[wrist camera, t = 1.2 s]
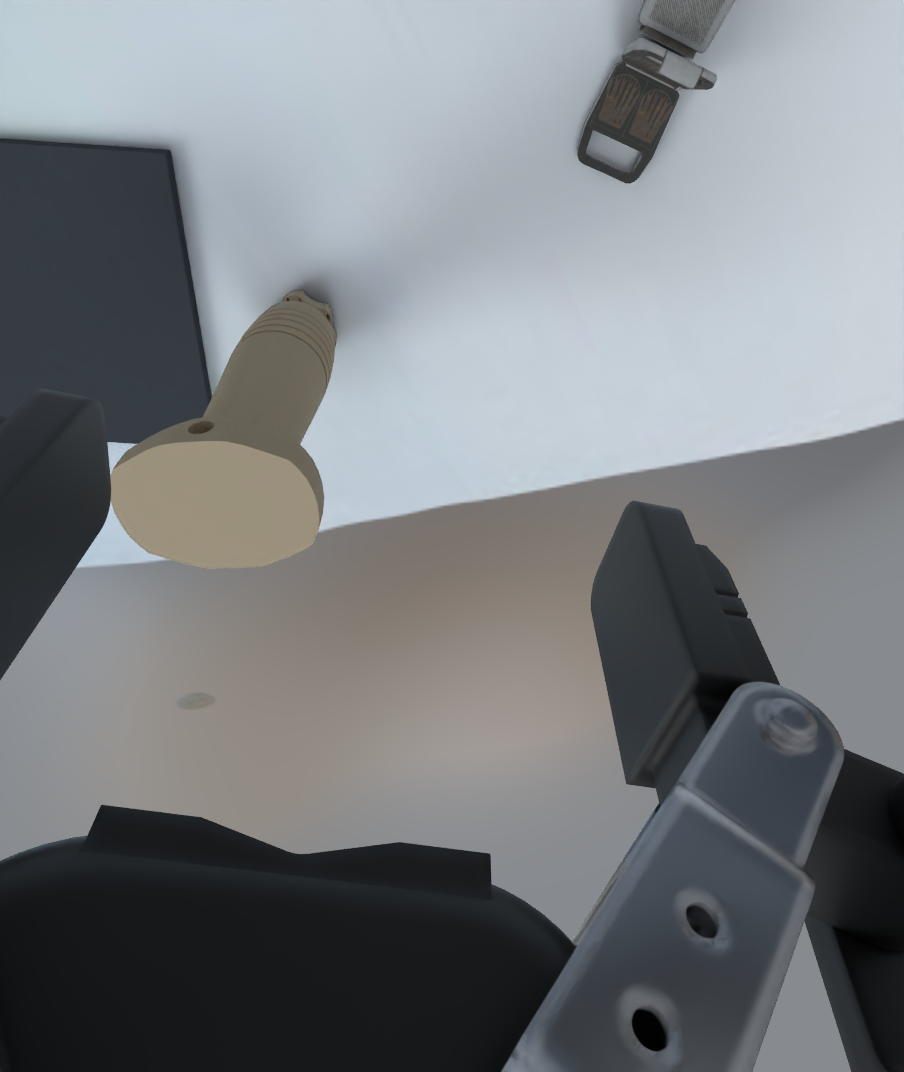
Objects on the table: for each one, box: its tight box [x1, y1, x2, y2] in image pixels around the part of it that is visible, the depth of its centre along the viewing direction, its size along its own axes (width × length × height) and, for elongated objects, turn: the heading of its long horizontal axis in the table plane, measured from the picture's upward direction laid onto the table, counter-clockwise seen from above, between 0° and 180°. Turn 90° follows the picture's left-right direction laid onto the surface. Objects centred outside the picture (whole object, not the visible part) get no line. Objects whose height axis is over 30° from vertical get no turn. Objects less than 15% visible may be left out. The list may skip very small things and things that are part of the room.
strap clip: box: [577, 0, 735, 183], centre depth 26 cm, size 8×3×4 cm, turn 159°
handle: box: [110, 290, 337, 569], centre depth 28 cm, size 5×6×15 cm
